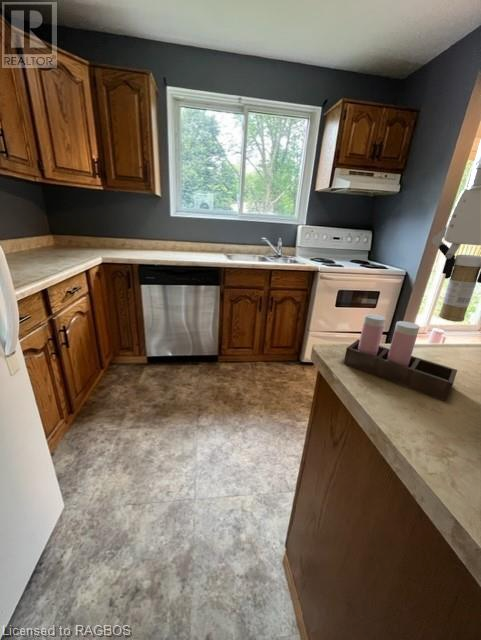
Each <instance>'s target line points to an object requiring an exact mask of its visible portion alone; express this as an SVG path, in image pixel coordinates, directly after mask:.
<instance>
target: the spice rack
mask: <svg viewBox="0 0 481 640" xmlns="http://www.w3.org/2000/svg"><path fill="white" fill-rule="evenodd" d="M359 342H360V338H358V339H357V340H355V341H354V342H353V343H351V344H350V345H349V346H347V347H346V350H345V354H344V355H345V356H344V361H343V364H345V365H348V366H350V367H353V368H355V369H358V370H361V371H364V372H367V373H369V374H372V375H375V376H377V377H379V378H382V379H384V380H387V381H390V382H393V383H396V384H398V385H401V386H404V387H406V388H409V389H412V390H414V391H416V392H417V391H418V392H420V393H423V394H425V395H428V396H430V397H433V398H436V399H438V400H441V401H443V402H447V401H448V399H449V397H450V394H451V391H452V388H453V386H454V383H455V379H456V377H457V373H458V369H456V368H453V367H450V366H447V365H443V364H440V363H437V362H433V361H430V360H427V359H423V358H421V357H417V356H413V355H411V358H410V362H409V365H408V367H407V366H404V365H401V364H398V363H395V362H392V361H389V360H387V357H388V353H389V350H390V348H388V347H385V346H381V345H379V348H378V353H377V356H374V355H371V354H368V353H365V352H362V351H359V350H358V346H359Z"/></svg>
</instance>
